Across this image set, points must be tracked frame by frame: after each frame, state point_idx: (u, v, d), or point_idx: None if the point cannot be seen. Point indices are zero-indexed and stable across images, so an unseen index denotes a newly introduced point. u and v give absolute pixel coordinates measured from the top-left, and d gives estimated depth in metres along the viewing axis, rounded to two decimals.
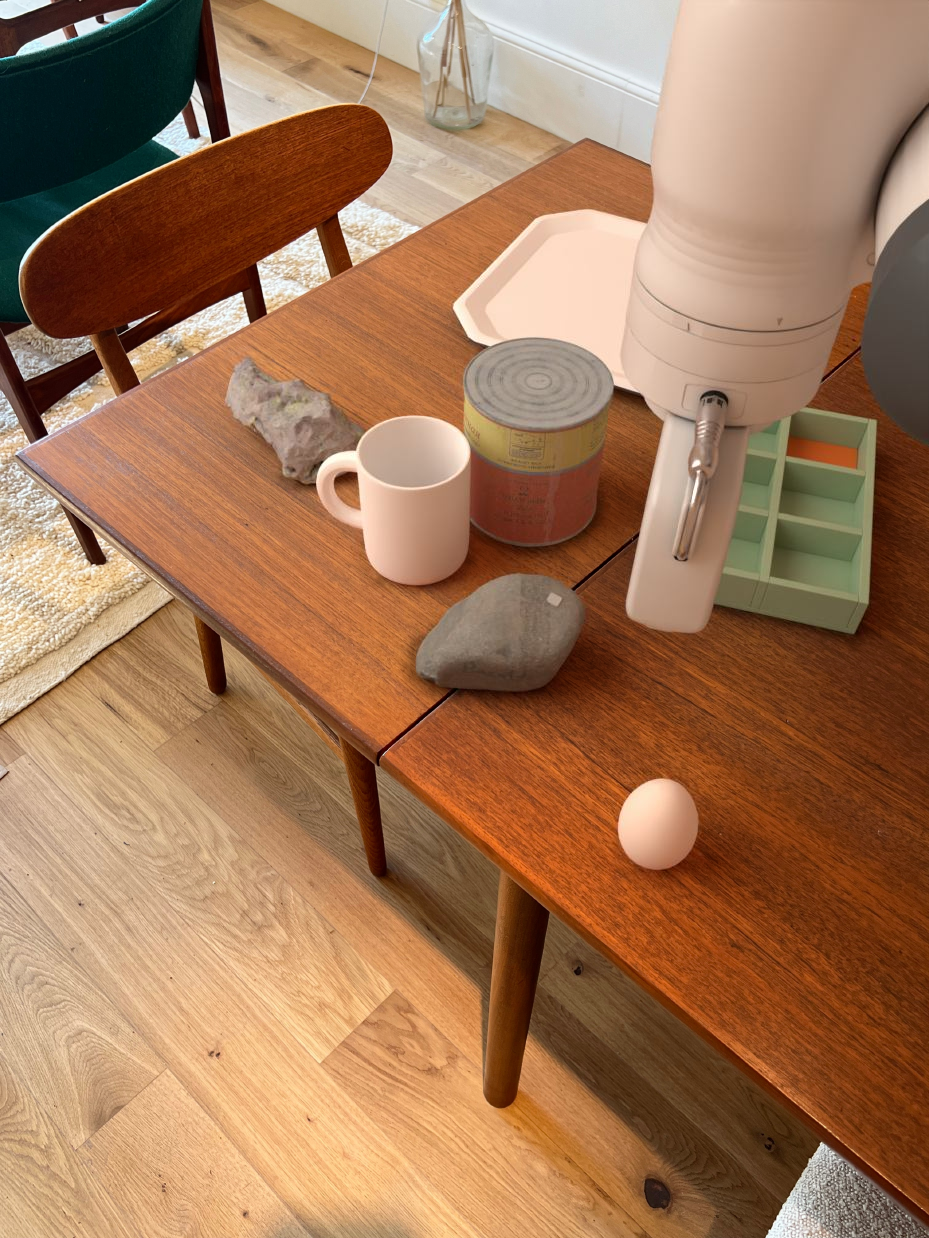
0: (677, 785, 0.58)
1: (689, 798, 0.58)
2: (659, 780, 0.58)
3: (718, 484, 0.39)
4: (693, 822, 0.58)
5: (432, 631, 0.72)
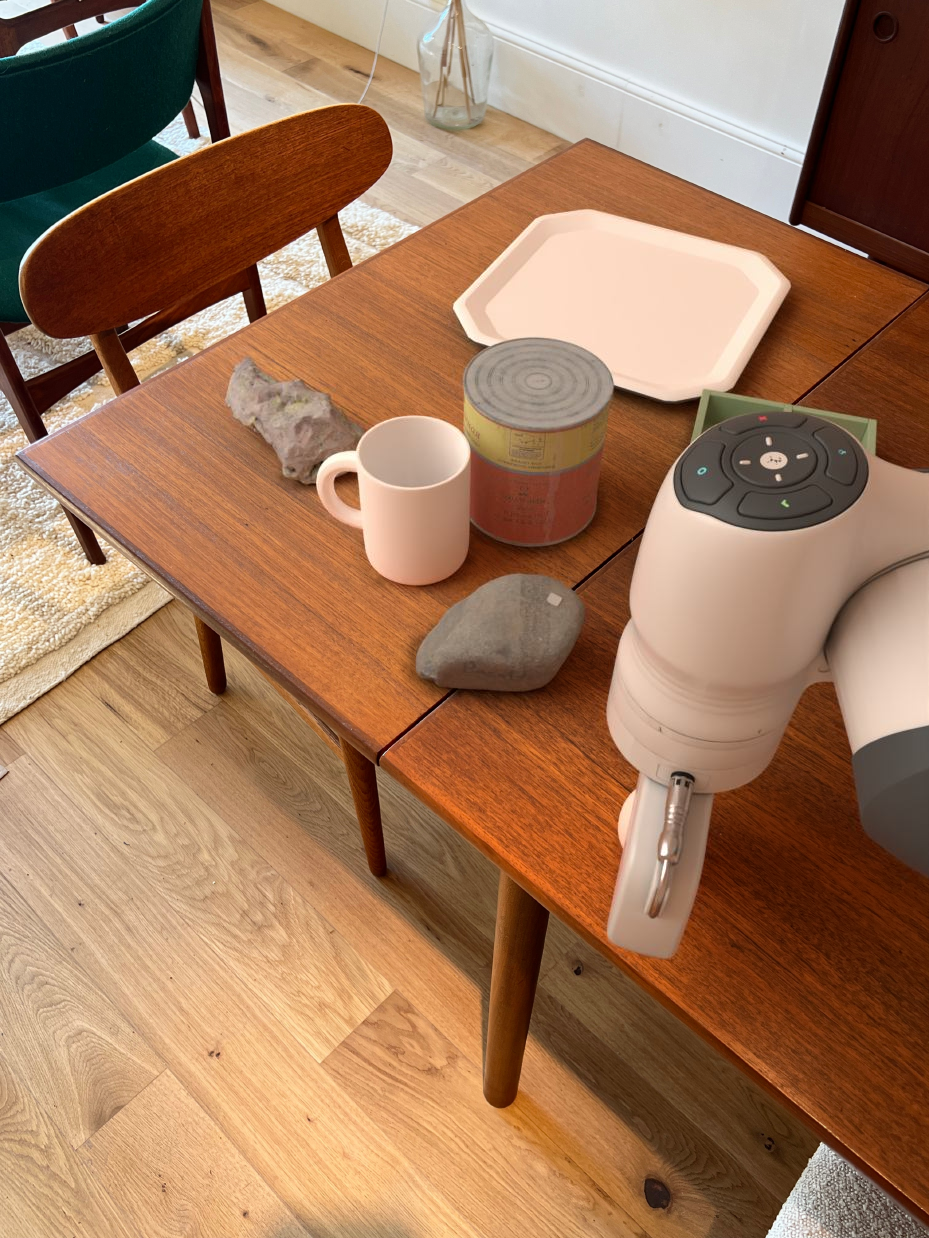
0: None
1: None
2: None
3: (684, 857, 0.47)
4: None
5: (432, 631, 0.72)
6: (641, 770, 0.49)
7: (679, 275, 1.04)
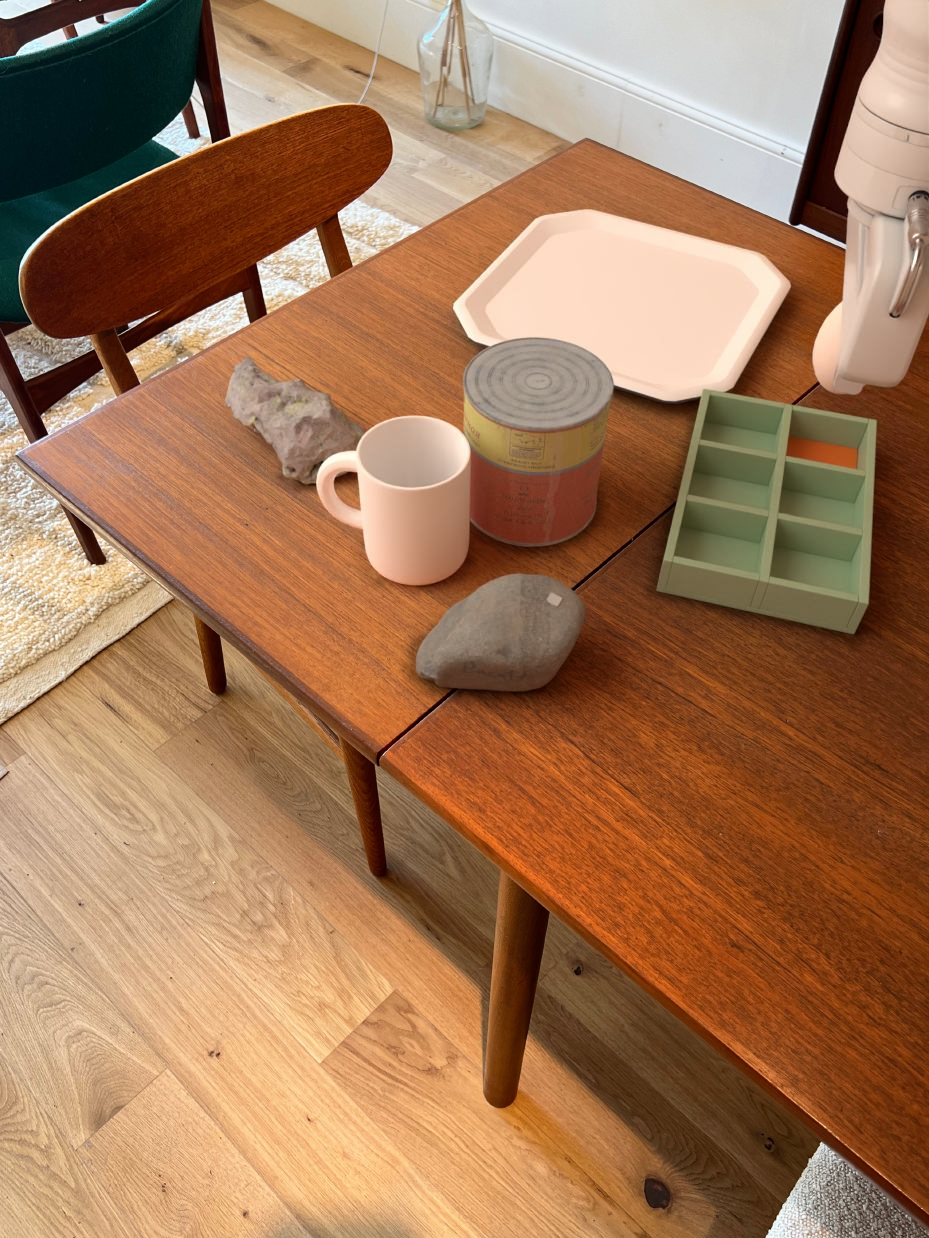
0: None
1: None
2: None
3: (926, 256, 0.53)
4: None
5: (432, 631, 0.72)
6: (877, 207, 0.56)
7: (679, 275, 1.04)
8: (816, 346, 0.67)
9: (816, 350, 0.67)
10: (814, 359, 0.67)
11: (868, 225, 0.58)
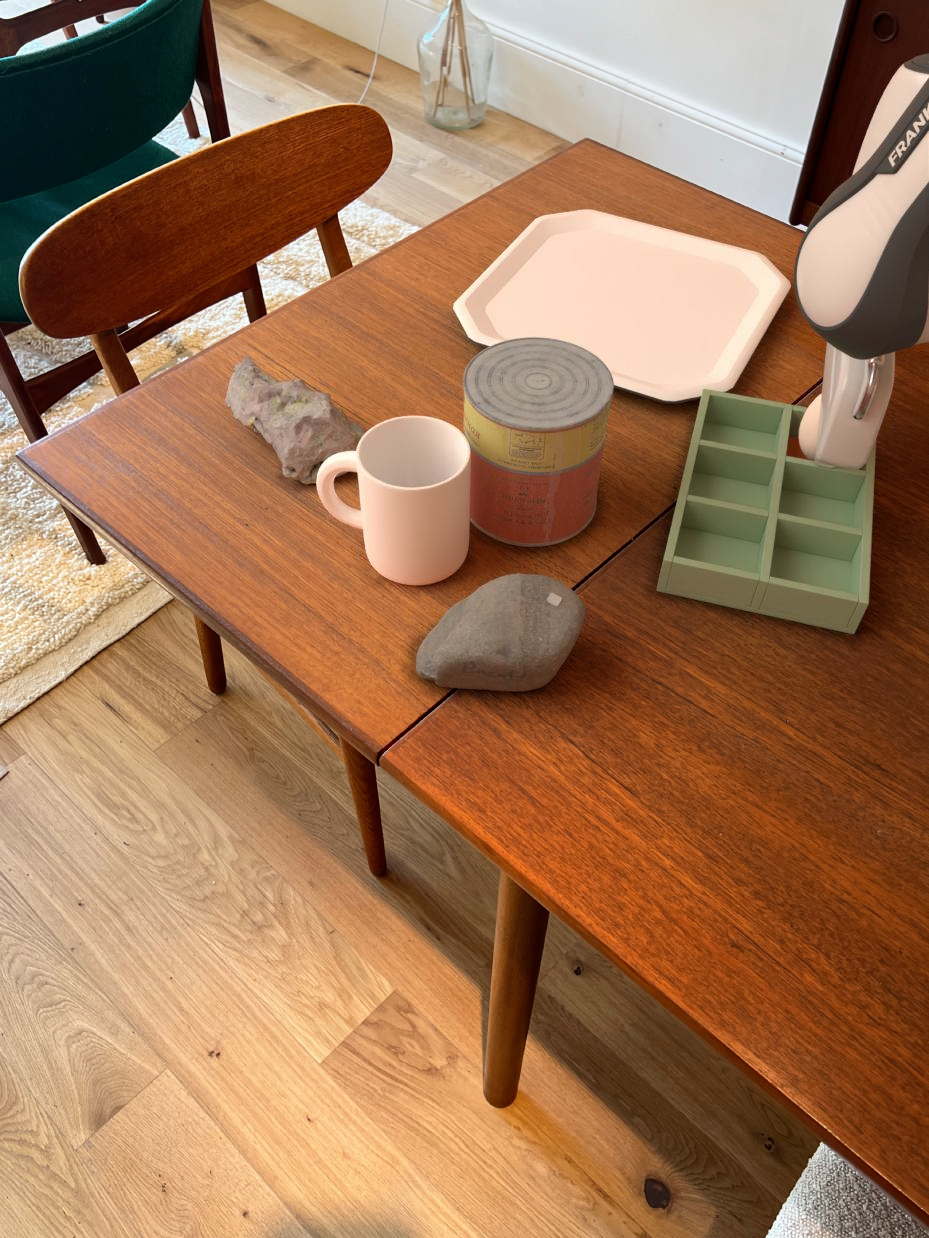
0: None
1: None
2: None
3: (882, 374, 0.69)
4: None
5: (432, 631, 0.72)
6: None
7: (679, 275, 1.04)
8: (801, 427, 0.83)
9: (801, 430, 0.83)
10: (800, 437, 0.83)
11: None
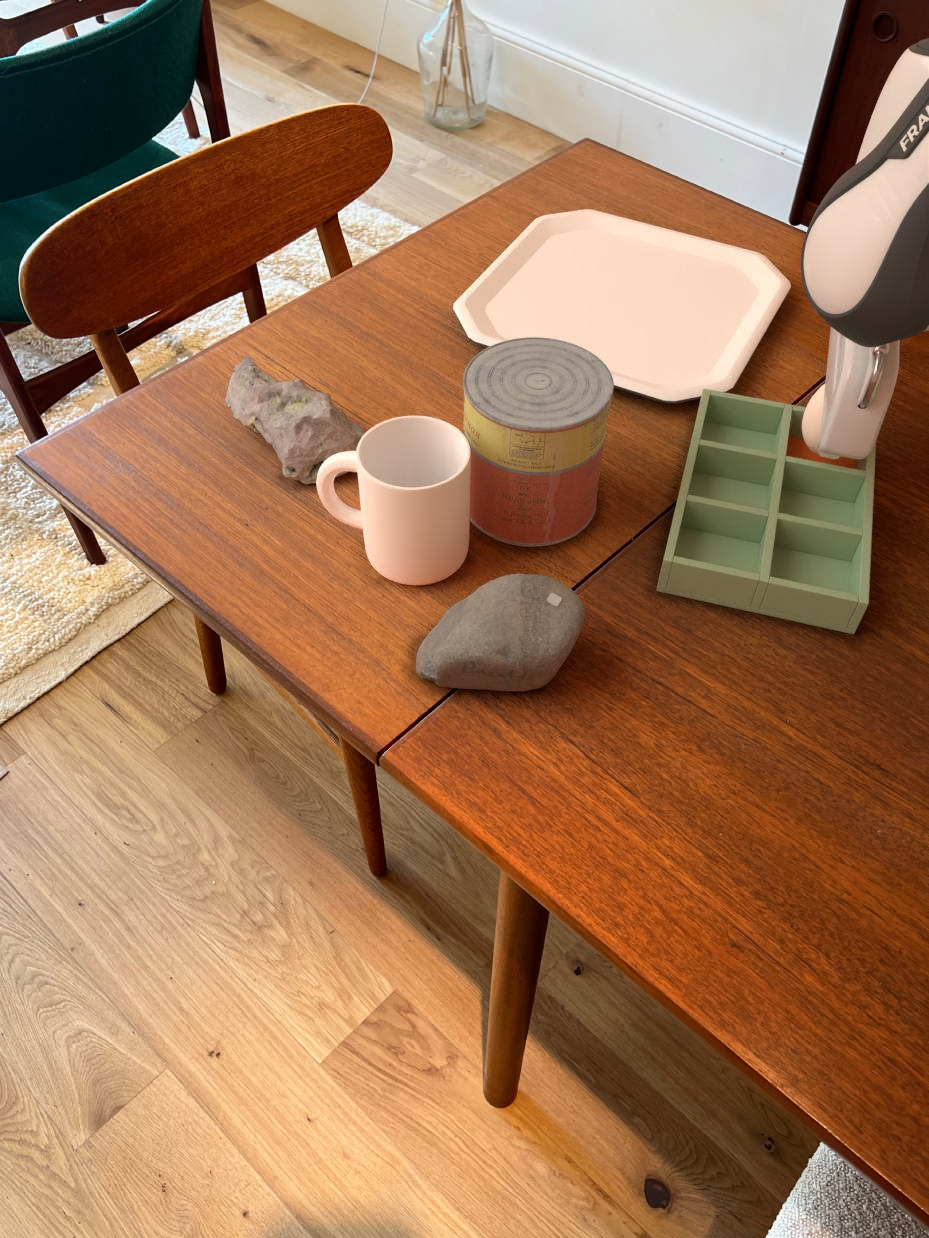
0: None
1: None
2: None
3: (886, 362, 0.69)
4: None
5: (432, 631, 0.72)
6: None
7: (679, 275, 1.04)
8: (804, 418, 0.82)
9: (804, 421, 0.82)
10: (803, 428, 0.82)
11: None
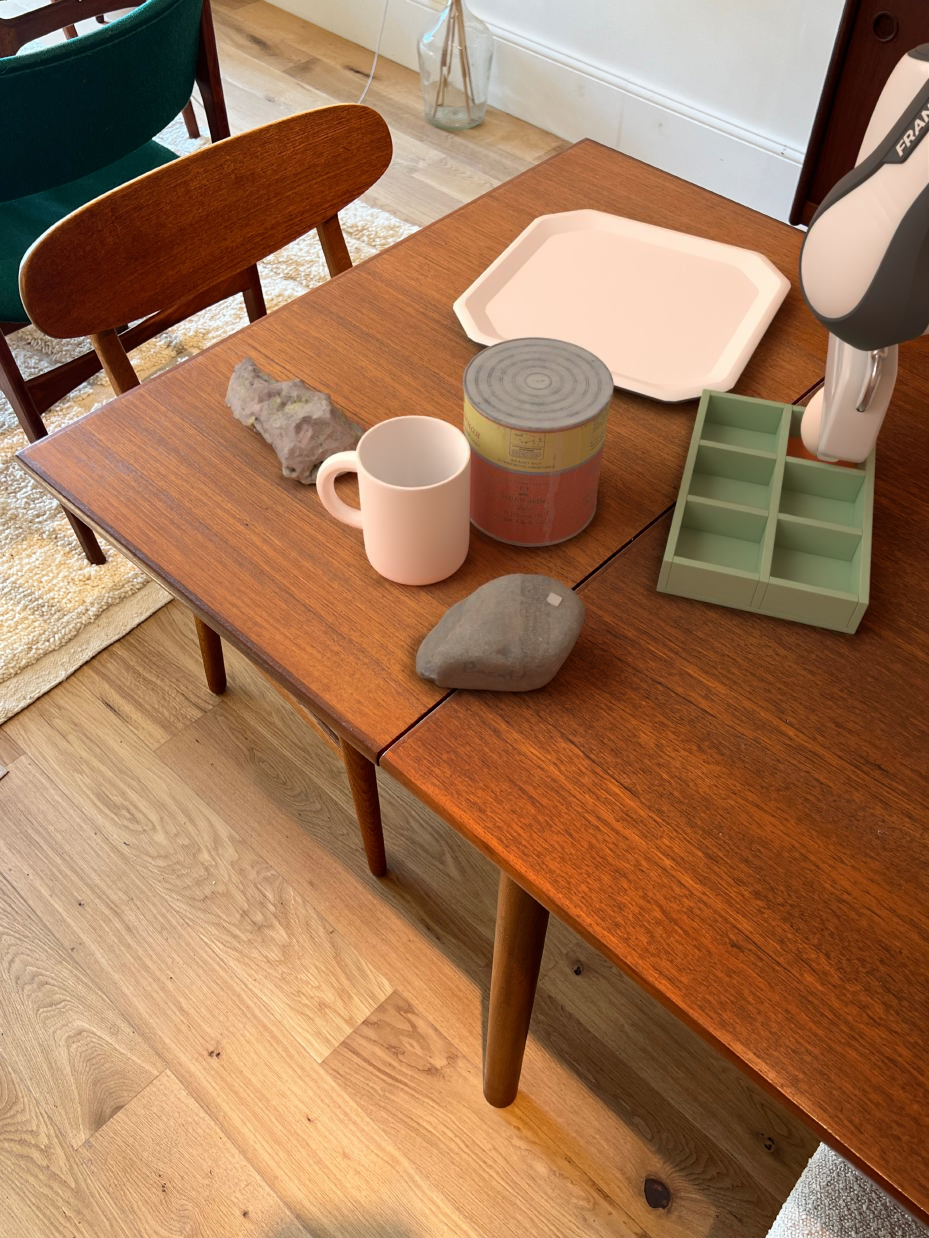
0: None
1: None
2: None
3: (885, 366, 0.69)
4: None
5: (432, 631, 0.72)
6: None
7: (679, 275, 1.04)
8: (803, 421, 0.82)
9: (803, 424, 0.82)
10: (802, 431, 0.83)
11: None
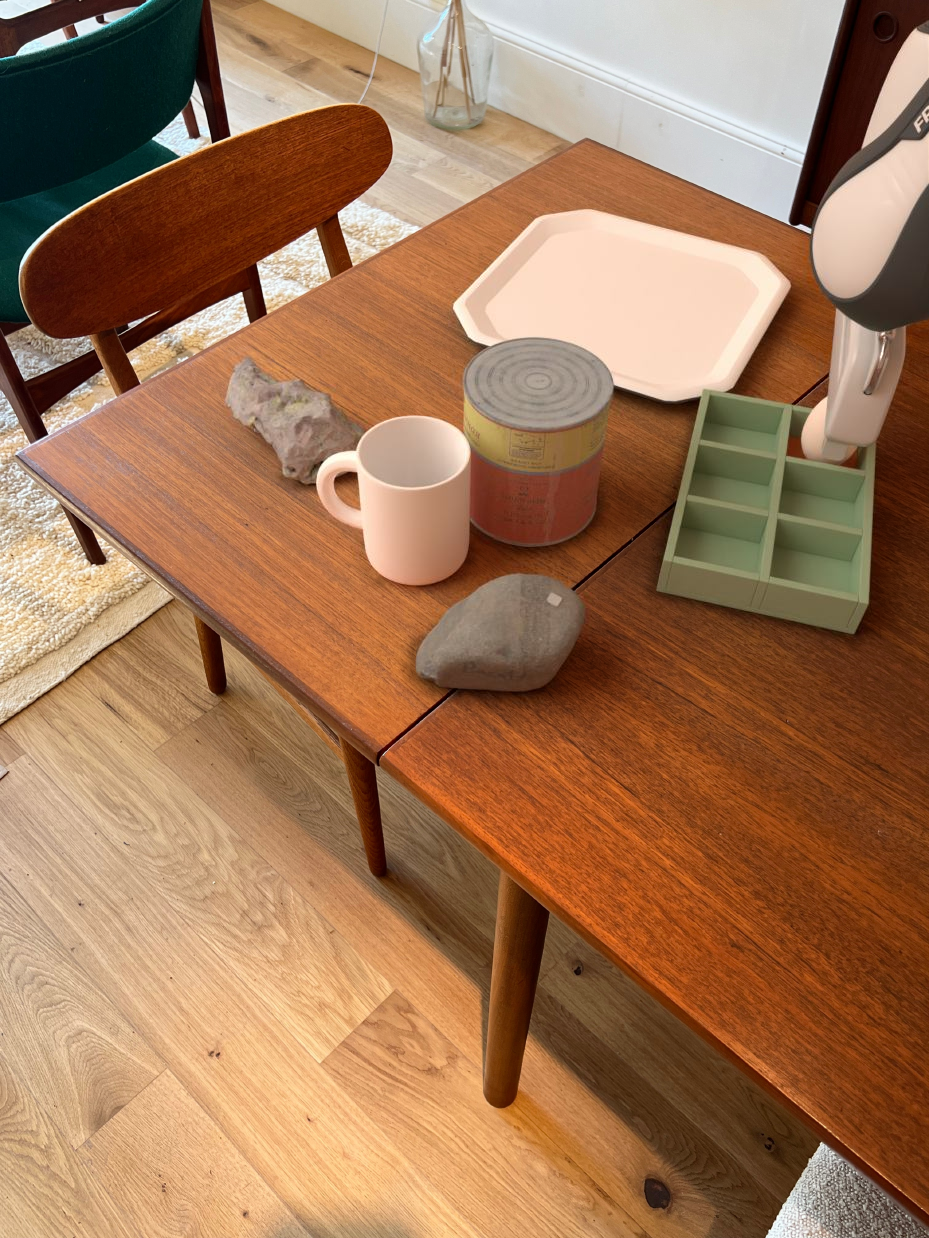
0: None
1: None
2: None
3: (892, 348, 0.68)
4: None
5: (432, 631, 0.72)
6: None
7: (679, 275, 1.04)
8: (804, 431, 0.83)
9: (804, 434, 0.83)
10: (802, 441, 0.84)
11: (849, 317, 0.73)
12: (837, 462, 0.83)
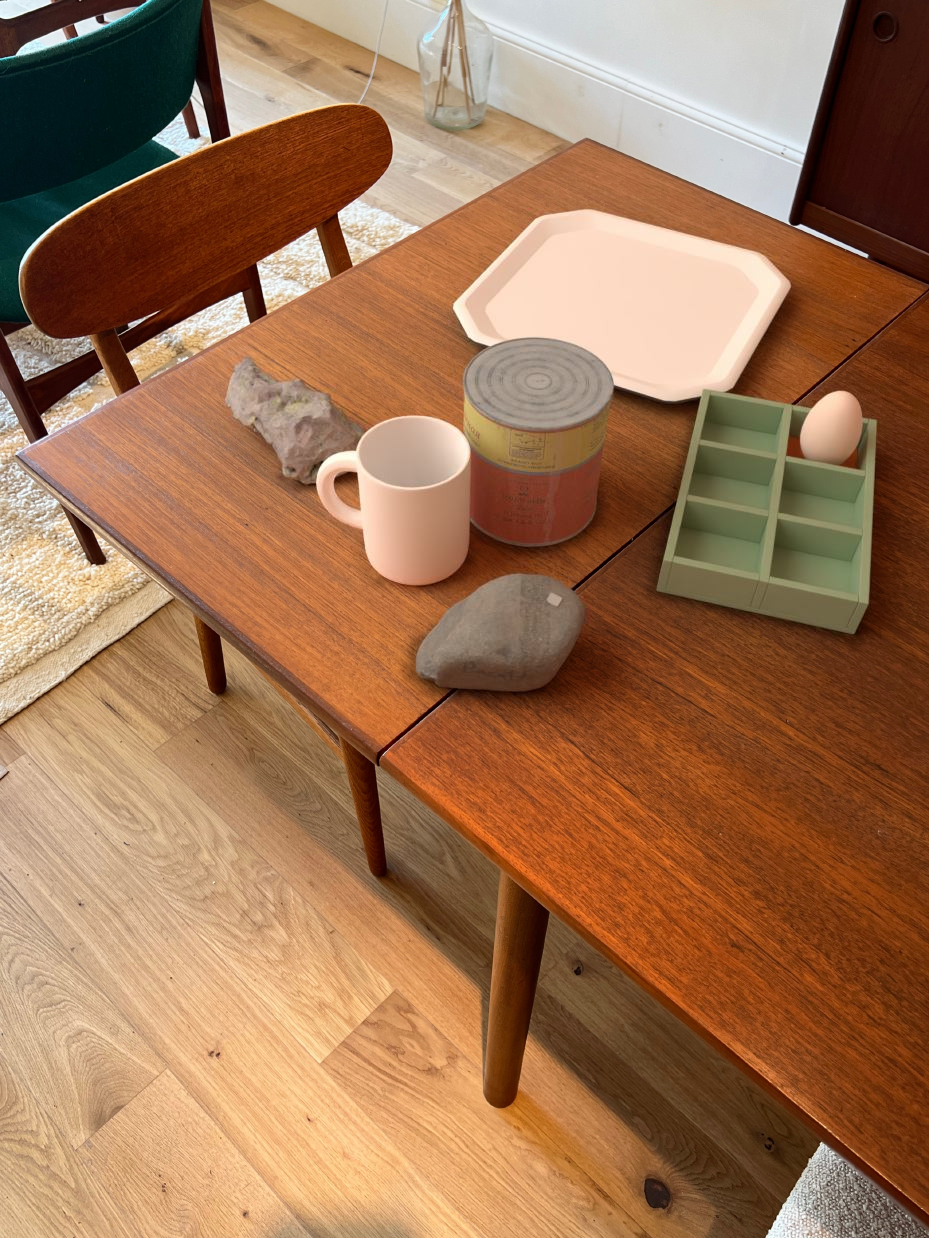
0: (849, 393, 0.81)
1: (858, 402, 0.81)
2: (836, 391, 0.81)
3: None
4: (860, 420, 0.81)
5: (432, 631, 0.72)
6: None
7: (679, 275, 1.04)
8: (802, 431, 0.83)
9: (802, 435, 0.83)
10: (801, 441, 0.84)
11: None
12: (836, 462, 0.83)
